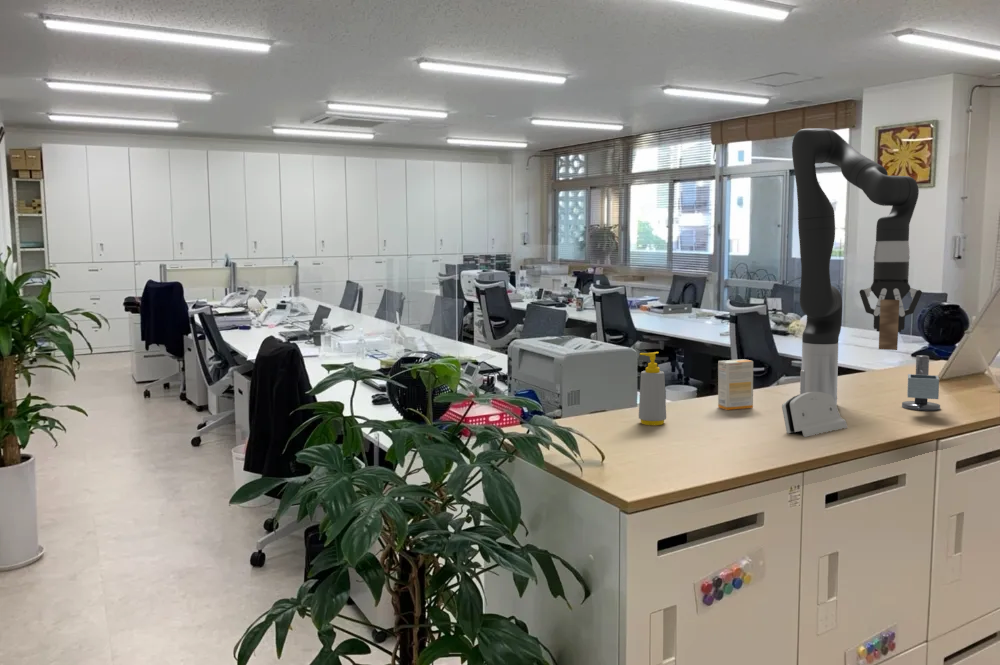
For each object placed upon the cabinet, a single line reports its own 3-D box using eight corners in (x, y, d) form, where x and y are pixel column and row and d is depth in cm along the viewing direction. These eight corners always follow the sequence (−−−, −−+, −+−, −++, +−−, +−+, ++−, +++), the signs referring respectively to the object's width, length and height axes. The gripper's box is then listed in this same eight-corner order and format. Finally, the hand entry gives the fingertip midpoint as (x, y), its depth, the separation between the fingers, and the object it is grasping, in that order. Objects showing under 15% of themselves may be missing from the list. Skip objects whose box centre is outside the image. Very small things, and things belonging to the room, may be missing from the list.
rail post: (878, 349, 184) (880, 299, 183) (879, 347, 188) (880, 298, 186) (897, 350, 182) (899, 299, 181) (897, 348, 186) (899, 299, 185)
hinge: (804, 437, 174) (792, 394, 176) (787, 440, 178) (776, 398, 180) (848, 427, 183) (837, 386, 185) (831, 430, 187) (820, 390, 189)
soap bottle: (633, 421, 194) (633, 351, 192) (657, 419, 196) (658, 350, 194) (646, 427, 187) (646, 354, 185) (671, 424, 189) (672, 353, 187)
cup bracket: (901, 416, 194) (903, 362, 193) (901, 403, 211) (903, 353, 210) (942, 419, 190) (944, 363, 189) (939, 406, 207) (941, 354, 206)
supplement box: (743, 405, 212) (744, 358, 211) (753, 408, 208) (754, 360, 207) (717, 407, 210) (717, 360, 209) (726, 410, 206) (727, 362, 204)
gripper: (924, 260, 183) (921, 331, 184) (859, 260, 189) (857, 329, 191) (925, 260, 176) (922, 334, 178) (857, 260, 183) (855, 331, 184)
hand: (888, 331), depth 184 cm, fingers closed on rail post, 4 cm apart
